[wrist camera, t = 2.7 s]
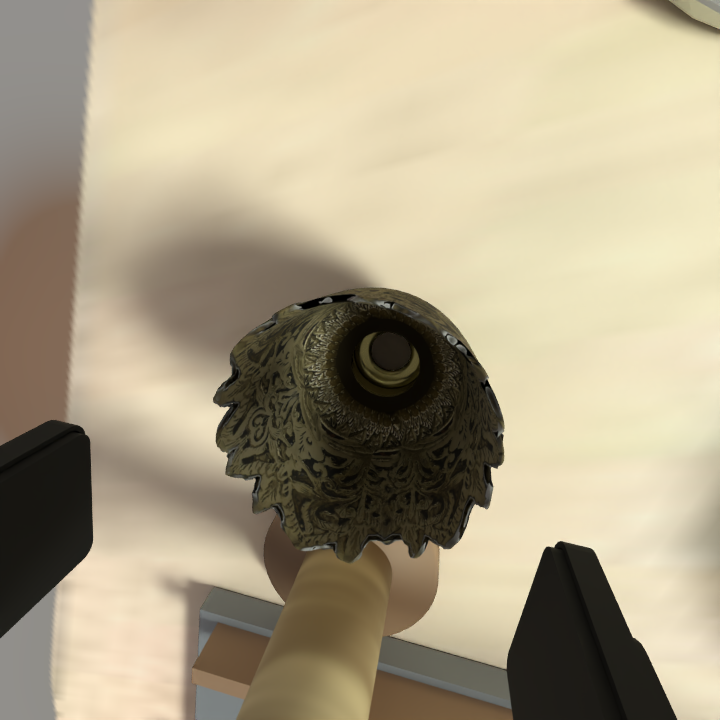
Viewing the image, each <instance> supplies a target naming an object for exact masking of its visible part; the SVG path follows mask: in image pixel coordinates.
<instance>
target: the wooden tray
mask: <svg viewBox="0 0 720 720" xmlns="http://www.w3.org/2000/svg"><path fill="white" fill-rule="evenodd" d="M282 610H283V606H280V605H276V604H273V603H269V602H266V601H262V600H259V599H255V598H252V597H248V596H245V595H241V594H238V593H234V592H231V591H227V590H224V589H220V588H217V587H214V588H213V589H212V591H211V593H210V594H209V596H208V597H207V599H206V601H205V602H204V604H203V605H202V607H201V609H200V621H199V643H198V659H197V660H196V662H195V664H194V666H193V667H192V683H193V684H196V685H197V688H196V711H195V720H236V718H237V716H238V714H239V711H240V709H241V707H242V704H243V702H244V700H245V697H246V695H247V692H248V690H249V688H250V685H251V683H252V681H253V678H254V676H255V674H256V671H257V669H258V666H259V664H260V662H261V659H262V657H263V655H264V652H265V650H266V648H267V645H268V643H269V641H270V638H271V636H272V633H273V631H274V629H275V626H276V624H277V622H278V619H279V617H280V615H281V612H282ZM368 720H513V715H512V708H511V700H510V693H509V685H508V678H507V671H506V670H503V669H499V668H496V667H492V666H489V665H485V664H482V663H478V662H475V661H472V660H468V659H465V658H461V657H458V656H454V655H451V654H447V653H444V652H440V651H437V650H433V649H430V648H426V647H423V646H419V645H416V644H412V643H409V642H405V641H402V640H398V639H395V638H391V637H388V636H384V637H382V642H381V647H380V653H379V659H378V665H377V671H376V677H375V683H374V689H373V695H372V701H371V707H370V713H369V719H368Z"/></svg>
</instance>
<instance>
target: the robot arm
mask: <svg viewBox="0 0 720 720" xmlns="http://www.w3.org/2000/svg"><path fill="white" fill-rule="evenodd" d="M669 1H670V2H671V3H673V4H674V5H675V6H677V7H678V8H680V9H681V10H682V11H684V12H685V13H686V14H688V15H689V16H690V17H692V18H693V19H696V20H698V21H701V22H703V23H706V24H708V25H710V26H713V27H715V28H718V29H720V0H669ZM92 543H93V520H92V487H91V454H90V439H89V437H88V436H87V435H85V431H84V430H83V428H82V427H80V426H78V425H74V424H69V423H65V422H61V421H57V420H50V421H47V422H45V423H43V424H42V425H39V426H38V427H36V428H34V429H32V430H30V431H28V432H26V433H24V434H22V435H20V436H19V437H16V438H15V439H13V440H11V441H9V442H7V443H5V444H3V445H1V446H0V638H1V637H2V636H3V635H4V634H5V633H6V632H7V631H9V630H10V629H11V628H12V627H13V626H14V625H15V624H16V623H17V622H18V621H19V620H20V619H21V618H22V617H23V616H24V615H25V614H26V613H27V612H29V611H30V610H31V609H32V607H34V606H35V605H36V604H37V603H38V602H39V601H40V600H41V599H42V598H43V597H44V596H45V595H46V594H47V593H48V592H50V591H51V590H52V589H53V588H54V587H55V586H56V585H57V584H58V583H59V582H60V581H61V580H62V579H63V578H64V577H65V576H66V575H67V574H68V573H70V572H71V571H72V570H73V569H74V568H75V567H76V566H77V565H78V564H79V563H80V562H81V561H82V560H83V559H84V558H85V557H86V556H87V554H88V553H89V551H90V549H91V547H92ZM507 678H508V685H509V693H510V700H511V708H512V715H513V720H677V718H676V716H675V714H674V711H673V709H672V707H671V705H670V703H669V701H668V698H667V696H666V694H665V692H664V690H663V687H662V685H661V683H660V681H659V679H658V677H657V674H656V672H655V670H654V668H653V666H652V663H651V661H650V659H649V657H648V655H647V653H646V651H645V649H644V648H643V646H642V644H641V643H640V642H639V641H637V640H636V639H635V638H633V637H632V635H631V633H630V630H629V628H628V626H627V624H626V621H625V619H624V617H623V614H622V612H621V610H620V608H619V605H618V603H617V601H616V599H615V596H614V594H613V592H612V590H611V587H610V585H609V583H608V581H607V578H606V576H605V574H604V572H603V569H602V567H601V565H600V563H599V560H598V558H597V556H596V554H595V552H594V550H592V549H591V548H587V547H583V546H579V545H575V544H570V543H566V542H562V541H560V542H558V543H557V544H556V545H555V547H554V548H553V547H546V548H545V550H544V552H543V554H542V557H541V560H540V563H539V566H538V569H537V572H536V575H535V578H534V580H533V583H532V586H531V589H530V592H529V595H528V598H527V601H526V604H525V606H524V609H523V612H522V615H521V618H520V621H519V624H518V627H517V630H516V632H515V635H514V638H513V641H512V644H511V647H510V650H509V653H508V659H507Z"/></svg>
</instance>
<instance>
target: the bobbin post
mask: <svg viewBox="0 0 720 720" xmlns="http://www.w3.org/2000/svg"><path fill="white" fill-rule="evenodd" d="M264 561H265V566H266V570H267V574H268V576H269V578H270V581H271V583H272V585H273V586H274V588H275V590H276V591H277V593H278V594H279V595H280V597H281V598H282V599H283V601H284V602H285V605H284V607H283V610H282V612H281V615H280V617H279V619H278V622H277V624H276V626H275V629H274V631H273V633H272V636H271V638H270V641H269V643H268V645H267V648H266V650H265V652H264V655H263V657H262V659H261V662H260V664H259V666H258V669H257V671H256V674H255V676H254V678H253V681H252V683H251V685H250V688H249V690H248V692H247V695H246V697H245V700H244V702H243V704H242V707H241V709H240V711H239V714H238V716H237V718H236V720H368V719H369V713H370V707H371V701H372V695H373V689H374V683H375V677H376V671H377V665H378V659H379V653H380V647H381V642H382V637H384V636H389V635H392V634H395V633H399V632H401V631H403V630H405V629H407V628H409V627H410V626H412V625H414V624H415V623H416V622H417V621H419V620H420V619H421V618H422V617H423V616H424V615H425V613H426V612H427V611H428V610H429V608H430V606H431V605H432V603H433V601H434V598H435V595H436V592H437V587H438V575H439V545H436V544H434V543H432V542H431V541H428V544H427V547H426V549H425V551H424V553H423V554H422V555H421V556H420V557H418V558H410V556H409V553H408V546H407V545H405V544H404V542H403V541H395V542H393V543H392V544H390V545H384V544H383V543H382V542H380V541H370V542H368V544H367V545H366V547H365V548H364V549H363V551H362V556H361V558H360V559H358V560H357V561H355V562H354V563H351V564H349V563H346V562H344V561H341V560H339V559H338V558H337V557H336V554H335V553H334V551H333V549H325V550H323V549H317V550H312V551H300V550H298V549H296V548H295V547H294V546H293V544H292V542H291V540H290V539H289V537H288V536H287V535H286V534H285V532H284V531H283V530H282V528H281V520H280V518H279V516H278V514H277V515H276V517H275V519H274V520H273V522H272V524H271V526H270V528H269V530H268V532H267V535H266V538H265V544H264Z"/></svg>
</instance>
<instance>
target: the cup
mask: <svg viewBox="0 0 720 720" xmlns="http://www.w3.org/2000/svg"><path fill="white" fill-rule="evenodd" d="M387 332H392V333H396V334H398V335H401V336H402V337H404V338H405V339H406V340H407V341H408V343H409V345H410V348H411V357H410V360H409V362H408V363H407V364H406V365H405V366H404V367H403V368H401V369H399V370H395V371H388V370H384V369H382V368H380V367H379V366H378V365H377V364H376V363H375V362H374V360H373V358H372V355H371V346H372V343H373V341H374V340H375V339H376V338H377V337H378V336H379V335H381V334H383V333H387ZM230 365H231V366H232V376H231V377H230V378H229V379H228V380H227V381H225V382H223V383H222V385H221V386H220V387H219V388H218V390H217V392H216V394H215V396H214V397H213V402H214V403H216V404H217V405H219V406H220V407H224V408H225V407H226V406H228V407H230V408H229V410H228V411H227V412H226V414H225V415H224V417H223V419H222V420H221V422H220V424H219V425H218V428H217V433H216V444H217V447H219V448H220V449H221V451H222V452H226V453H228V454H227V457H228V462H227V466H226V472H225V474H226V475H227V476H230V477H234V478H243V479H244V480H250V479H253V478H255V479H256V482H255V485H254V490H253V492H252V497H253V504H252V509H253V513H254V514H258V513H261V512H264V511H266V510H268V509H270V508H272V509H274V510H275V512H276V513H277V514H278V516H279V518H280V520H281V528H282V530H283V531H284V532H285V534H286V535H287V536H288V537H289V539H290V540H291V542H292V544H293V546H294V547H295V548H296V549H298V550H300V551H312V550H317V549H323V550H325V549H333V551H334V553H335V554H336V557H337V558H338V559H339V560H341V561H344V562H346V563H349V564H351V563H354V562H355V561H357V560H358V559H360V558H361V556H362V551H363V549H364V548H365V547H366V545H367V544H368V542H370V541H380V542H382V543H383V544H384V545H390V544H392V543H393V542H395V541H403V542H404V544H405V545H407V546H408V553H409V556H410V558H418V557H420V556H421V555H422V554H423V553H424V551H425V549H426V547H427V544H428V541H431V542H432V543H434V544H436V545H439V546H441V547H443V549H451V548H452V547H453V546H454V545H455V544H457V543H458V542H459V541H460V539H461V537H462V536H463V533H464V531H465V529H466V527H467V523H468V520H469V515H470V513H471V510H472V508H473V506H474V504H476V505H479V506H480V507H483V508H485V509H488V508H489V506H490V501H491V496H492V491H493V484H492V480H491V467H494V468H496V469H498V466H500V465H502V463H503V461H504V448H503V436H504V435H503V434H502V433H503V432H504V420H503V416H502V413H501V410H500V407H499V404H498V401H497V399H496V396H495V394H494V392H493V390H492V388H491V386H490V384H489V382H488V380H487V379H488V378H489V377H488V375H487V373H486V372H485V370H484V368H483V367H482V366H481V364H480V363H479V362H478V360H477V358H476V356H475V355H474V353H473V351H472V349H471V347H470V346H469V344H468V342H467V341H466V339H465V338H464V337H463V335H462V334H461V332H460V331H459V330H458V328H457V327H456V326H455V325H454V324H453V323H452V322H451V321H450V319H449V318H447V317H446V316H445V315H444V314H443V313H442V312H441V311H439V310H438V309H437V308H435V307H434V306H432V305H431V304H429V303H428V302H426V301H424V300H422V299H420V298H418V297H416V296H413V295H411V294H408V293H405V292H401V291H398V290H392V289H386V288H359V289H353V290H347V291H342V292H338V293H334V294H331V295H327V296H324V297H321V298H317V299H314V300H311V301H307V302H303V303H295V304H293V305H290V306H288V307H286V308H284V309H282V310H280V311H278V312H277V313H275V314H274V315H273V316H272V318H271V319H270V320H268V321H267V322H265V323H263V324H262V325H260V326H258V327H256V328H255V329H254V330H252V331H251V332H249V333H248V334H247V335H246V336H245V337H244V338H243V339H241V340H240V341H239V342H238V344H237V345H236V346H235V347H234V348H233V350H232V352H231V354H230ZM231 403H233V404H231Z"/></svg>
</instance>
